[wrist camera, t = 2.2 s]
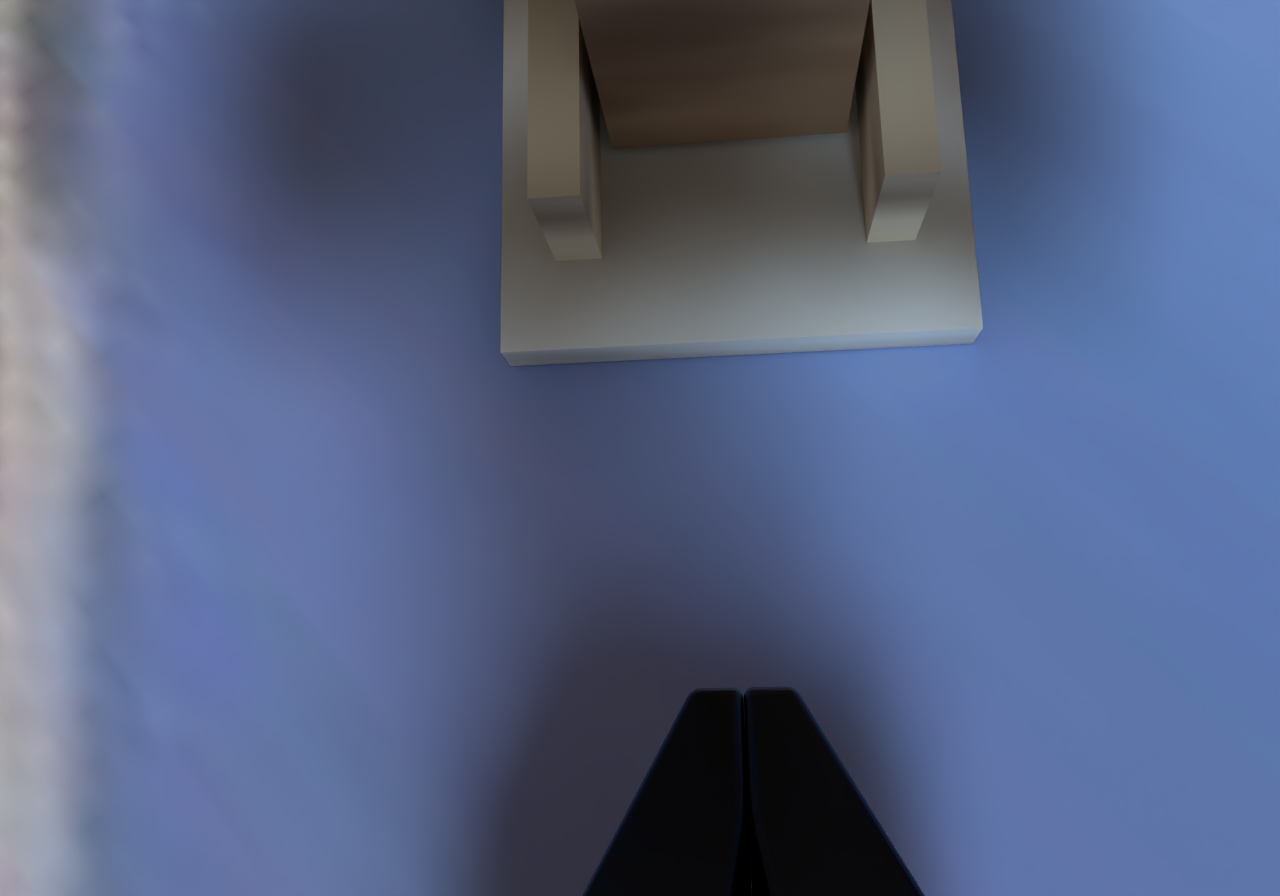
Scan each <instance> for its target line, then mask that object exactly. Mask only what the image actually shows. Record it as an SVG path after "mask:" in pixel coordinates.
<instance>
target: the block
mask: <svg viewBox="0 0 1280 896" xmlns="http://www.w3.org/2000/svg"><path fill="white" fill-rule="evenodd" d="M574 1H575V5H576V9H577V13H578V16H579V20H580V24H581V28H582V32H583V36H584V40H585V44H586V48H587V52H588V56H589V59H590V63H591V67H592V71H593V75H594V79H595V83H596V87H597V91H598V95H599V99H600V102H601V106H602V110H603V114H604V118H605V122H606V126H607V130H608V134H609V138H610V142H611V145H612V149H615V148H629V147H644V146H658V145H673V144H687V143H702V142H717V141H731V140H746V139H760V138H775V137H789V136H804V135H818V134H833V133H846V131H847V125H848V120H849V114H850V109H851V103H852V97H853V92H854V86H855V81H856V75H857V70H858V64H859V59H860V53H861V48H862V42H863V37H864V31H865V26H866V20H867V14H868V9H869V3H870V0H574Z"/></svg>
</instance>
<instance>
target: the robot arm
mask: <svg viewBox="0 0 1280 896" xmlns="http://www.w3.org/2000/svg"><path fill="white" fill-rule="evenodd" d="M744 716H745V723H744ZM745 743H746V744H745ZM750 860H751V863H750ZM751 881H752V888H751ZM582 896H925V895H924V894H923V892H922V890H921V889H920V887H919V886H918V884H917V882H916V881H915V879H914V877H913V876H912V874H911V873H910V871H909V869H908V868H907V866H906V865H905V863H904V861H903V860H902V858H901V857H900V855H899V853H898V852H897V850H896V848H895V847H894V845H893V844H892V842H891V840H890V839H889V837H888V836H887V834H886V832H885V831H884V829H883V828H882V826H881V824H880V823H879V821H878V820H877V818H876V816H875V815H874V813H873V811H872V810H871V808H870V807H869V805H868V803H867V802H866V800H865V799H864V797H863V795H862V794H861V792H860V791H859V789H858V787H857V786H856V784H855V782H854V781H853V779H852V778H851V776H850V774H849V773H848V771H847V770H846V768H845V766H844V765H843V763H842V762H841V760H840V758H839V757H838V755H837V754H836V752H835V750H834V749H833V747H832V745H831V744H830V742H829V741H828V739H827V737H826V736H825V734H824V733H823V731H822V729H821V728H820V726H819V725H818V723H817V721H816V720H815V718H814V716H813V715H812V713H811V712H810V710H809V708H808V707H807V705H806V704H805V702H804V700H803V699H802V697H801V696H800V694H799V693H798V692H797V691H796V690H795V689H793V688H791V687H753V688H749V689H748V690H746V692H745V694H744V702H743V694H742V693H741V691H740V690H738V689H737V688H704V689H695V690H694V691H692V692H691V693H690V694H689V696H688V697H687V699H686V701H685V703H684V704H683V706H682V708H681V710H680V712H679V714H678V716H677V718H676V720H675V721H674V723H673V725H672V727H671V729H670V731H669V733H668V735H667V737H666V738H665V740H664V742H663V744H662V746H661V748H660V750H659V752H658V754H657V755H656V757H655V759H654V761H653V763H652V765H651V767H650V769H649V771H648V772H647V774H646V776H645V778H644V780H643V782H642V784H641V786H640V788H639V789H638V791H637V793H636V795H635V797H634V799H633V801H632V803H631V805H630V806H629V808H628V810H627V812H626V814H625V816H624V818H623V820H622V822H621V823H620V825H619V827H618V829H617V831H616V833H615V835H614V837H613V839H612V840H611V842H610V844H609V846H608V848H607V850H606V852H605V854H604V856H603V857H602V859H601V861H600V863H599V865H598V867H597V869H596V871H595V872H594V874H593V876H592V878H591V880H590V882H589V884H588V886H587V888H586V889H585V891H584V893H583V895H582Z"/></svg>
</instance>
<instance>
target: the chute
mask: <svg viewBox="0 0 1280 896" xmlns="http://www.w3.org/2000/svg"><path fill="white" fill-rule="evenodd" d="M982 329H983V323H982V312H981V302H980V291H979V281H978V271H977V260H976V250H975V240H974V229H973V219H972V209H971V198H970V188H969V177H968V167H967V157H966V146H965V136H964V126H963V115H962V105H961V95H960V84H959V74H958V64H957V53H956V43H955V32H954V22H953V12H952V1H951V0H870V3H869V9H868V14H867V20H866V26H865V31H864V37H863V42H862V48H861V53H860V59H859V64H858V70H857V75H856V81H855V86H854V92H853V97H852V103H851V109H850V114H849V120H848V125H847V131H846V133H833V134H818V135H804V136H789V137H775V138H760V139H746V140H731V141H717V142H702V143H687V144H673V145H658V146H644V147H629V148H615V149H612V145H611V142H610V138H609V134H608V130H607V126H606V122H605V118H604V114H603V110H602V106H601V102H600V99H599V95H598V91H597V87H596V83H595V79H594V75H593V71H592V67H591V63H590V59H589V56H588V52H587V48H586V44H585V40H584V36H583V32H582V28H581V24H580V20H579V16H578V13H577V9H576V5H575V1H574V0H504V39H503V139H502V239H501V339H500V353H501V354H502V355H503V357H504V358H505V359H506V361H507V362H508V363H509V365H510V366H526V365H546V364H566V363H586V362H607V361H627V360H647V359H667V358H688V357H708V356H728V355H748V354H769V353H789V352H809V351H830V350H850V349H870V348H890V347H911V346H931V345H951V344H971V343H973V342H974V341H975V339H976V338H977V336H978V335H979V333H980V332H981V330H982Z"/></svg>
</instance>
